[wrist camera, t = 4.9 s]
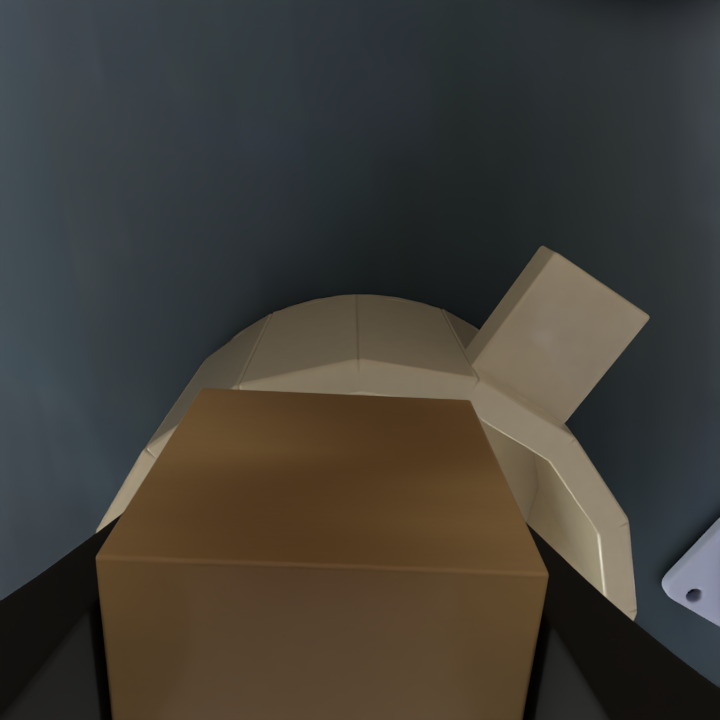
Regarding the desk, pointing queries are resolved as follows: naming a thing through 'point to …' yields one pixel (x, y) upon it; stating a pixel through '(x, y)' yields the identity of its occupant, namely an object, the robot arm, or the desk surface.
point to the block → (321, 566)
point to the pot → (462, 390)
